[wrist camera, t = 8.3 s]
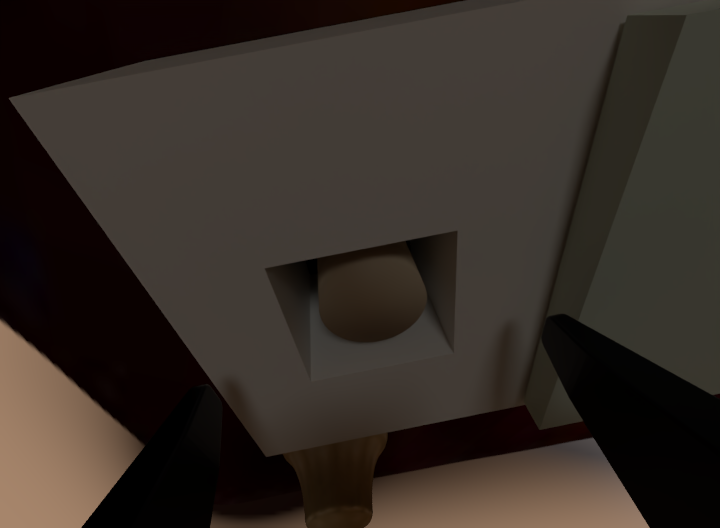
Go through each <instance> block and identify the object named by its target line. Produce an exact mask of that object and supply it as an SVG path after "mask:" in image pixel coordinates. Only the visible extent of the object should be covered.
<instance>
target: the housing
mask: <svg viewBox="0 0 720 528" xmlns="http://www.w3.org/2000/svg"><path fill="white" fill-rule="evenodd" d="M700 1H705V0H466V1H460V2H455V3H450V4H444V5H439V6H434V7H429V8H423V9H418V10H413V11H407V12H402V13H397V14H392V15H386V16H381V17H376V18H370V19H365V20H360V21H354V22H349V23H344V24H339V25H333V26H328V27H323V28H317V29H312V30H307V31H302V32H296V33H291V34H286V35H280V36H275V37H270V38H264V39H259V40H254V41H249V42H243V43H238V44H233V45H227V46H222V47H217V48H212V49H206V50H201V51H196V52H190V53H185V54H180V55H174V56H169V57H164V58H159V59H153V60H148V61H143V62H140V63H136V64H132V65H129V66H125V67H121V68H118V69H114V70H110V71H107V72H103V73H99V74H96V75H92V76H88V77H85V78H81V79H77V80H74V81H70V82H66V83H63V84H59V85H55V86H52V87H48V88H44V89H41V90H37V91H33V92H30V93H26V94H22V95H19V96H15V97H11V98H9V99H10V101H11V102H12V104H13V105H14V106H15V108H16V109H17V111H18V112H19V113H20V115H21V116H22V118H23V119H24V120H25V122H26V123H27V125H28V126H29V127H30V129H31V130H32V132H33V133H34V134H35V136H36V137H37V138H38V140H39V141H40V143H41V144H42V145H43V147H44V148H45V150H46V151H47V152H48V154H49V155H50V157H51V158H52V159H53V161H54V162H55V164H56V165H57V166H58V168H59V169H60V170H61V172H62V173H63V175H64V176H65V177H66V179H67V180H68V182H69V183H70V184H71V186H72V187H73V189H74V190H75V191H76V193H77V194H78V196H79V197H80V198H81V200H82V201H83V203H84V204H85V205H86V207H87V208H88V209H89V211H90V212H91V214H92V215H93V216H94V218H95V219H96V221H97V222H98V223H99V225H100V226H101V228H102V229H103V230H104V232H105V233H106V235H107V236H108V237H109V239H110V240H111V241H112V243H113V244H114V246H115V247H116V248H117V250H118V251H119V253H120V254H121V255H122V257H123V258H124V260H125V261H126V262H127V264H128V265H129V267H130V268H131V269H132V271H133V272H134V273H135V275H136V276H137V278H138V279H139V280H140V282H141V283H142V285H143V286H144V287H145V289H146V290H147V292H148V293H149V294H150V296H151V297H152V299H153V300H154V301H155V303H156V304H157V306H158V307H159V308H160V310H161V311H162V312H163V314H164V315H165V317H166V318H167V319H168V321H169V322H170V324H171V325H172V326H173V328H174V329H175V331H176V332H177V333H178V335H179V336H180V338H181V339H182V340H183V342H184V343H185V344H186V346H187V347H188V349H189V350H190V351H191V353H192V354H193V356H194V357H195V358H196V360H197V361H198V363H199V364H200V365H201V367H202V368H203V370H204V371H205V372H206V374H207V375H208V377H209V378H210V379H211V381H212V382H213V383H214V385H215V386H216V388H217V389H218V390H219V392H220V393H221V395H222V396H223V397H224V399H225V400H226V402H227V403H228V404H229V406H230V407H231V409H232V410H233V411H234V413H235V414H236V415H237V417H238V418H239V420H240V421H241V422H242V424H243V425H244V427H245V428H246V429H247V431H248V432H249V434H250V435H251V436H252V438H253V439H254V441H255V442H256V443H257V445H258V446H259V448H260V449H261V450H262V452H263V453H264V454H265V456H266V457H268V456H273V455H278V454H283V453H288V452H293V451H298V450H303V449H308V448H313V447H318V446H323V445H328V444H333V443H338V442H343V441H348V440H353V439H358V438H363V437H367V436H372V435H377V434H382V433H387V432H392V431H397V430H402V429H407V428H412V427H417V426H422V425H427V424H432V423H437V422H442V421H447V420H452V419H457V418H462V417H467V416H472V415H476V414H481V413H486V412H491V411H496V410H501V409H506V408H511V407H516V406H521V405H525V403H524V398H525V394H526V390H527V386H528V383H529V379H530V375H531V372H532V368H533V364H534V360H535V357H536V353H537V349H538V346H539V342H540V338H541V334H542V331H543V327H544V323H545V319H546V316H547V312H548V308H549V305H550V301H551V297H552V293H553V290H554V286H555V282H556V278H557V275H558V271H559V267H560V264H561V260H562V256H563V252H564V249H565V245H566V241H567V238H568V234H569V230H570V226H571V223H572V219H573V215H574V211H575V208H576V204H577V200H578V197H579V193H580V189H581V185H582V182H583V178H584V174H585V171H586V167H587V163H588V159H589V156H590V152H591V148H592V144H593V141H594V137H595V133H596V130H597V126H598V122H599V118H600V115H601V111H602V107H603V103H604V100H605V96H606V92H607V89H608V85H609V81H610V77H611V74H612V70H613V66H614V63H615V59H616V55H617V51H618V48H619V44H620V40H621V36H622V33H623V29H624V25H625V22H626V18H627V15H632V14H637V13H642V12H647V11H653V10H658V9H663V8H668V7H674V6H679V5H684V4H689V3H695V2H700ZM407 240H410V248H411V255H412V257H413V259H414V262H415V264H416V266H417V269H418V271H419V273H420V276H421V278H422V280H423V283H424V285H425V288H426V292H427V301H426V306H425V308H424V311H423V313H422V314H421V316H420V317H419V319H418V320H417V321H416V322H415V323H414V324H413V325H412V326H411V327H410V328H408V329H407V330H406V331H404V332H402V333H401V334H399V335H397V336H394V337H392V338H389V339H386V340H382V341H377V342H354V341H349V340H346V339H343V338H341V337H339V336H337V335H335V334H333V333H332V332H331V331H330V330H328V328H327V327H326V326H325V325H324V323H323V322H322V320H321V317H320V313H319V296H318V273H315V274H310V273H309V269H308V266H307V263H306V260H310V259H315V258H320V257H325V256H330V255H335V254H340V253H345V252H350V251H355V250H361V249H366V248H371V247H376V246H381V245H386V244H391V243H396V242H401V241H407Z"/></svg>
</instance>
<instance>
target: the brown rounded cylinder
mask: <svg viewBox="0 0 720 528" xmlns="http://www.w3.org/2000/svg"><path fill="white" fill-rule="evenodd" d="M317 270H318V296H319V313H320V317H321V320H322V322H323V323H324V325H325V326H326V327H327V328H328V330H330V331H331V332H332V333H333V334H335V335H337V336H339V337H341V338H343V339H346V340H349V341H354V342H377V341H382V340H386V339H389V338H392V337H394V336H397V335H399V334H401V333H402V332H404V331H406V330H407V329H408V328H410V327H411V326H412V325H413V324H414V323H415V322H416V321H417V320H418V319H419V317H420V316H421V314H422V313H423V311H424V308H425V306H426V301H427V292H426V288H425V285H424V283H423V280H422V278H421V276H420V273H419V271H418V269H417V266H416V264H415V262H414V259H413V257H412V255H411V253H410V250H409V248H408V246H407V243H406V241H401V242H396V243H391V244H386V245H381V246H376V247H371V248H366V249H361V250H355V251H350V252H345V253H340V254H335V255H330V256H325V257H320V258H317Z"/></svg>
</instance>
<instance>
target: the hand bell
mask: <svg viewBox="0 0 720 528" xmlns="http://www.w3.org/2000/svg"><path fill="white" fill-rule="evenodd" d="M387 438H388V433H382V434H377V435H372V436H367V437H363V438H358V439H353V440H348V441H343V442H338V443H333V444H328V445H323V446H318V447H313V448H308V449H303V450H298V451H293V452H288V453H283V456H284V458H285V459H286V460H287V461H288V462H289V463H290V464H291V465H292V466H293V468H294V469H295V471H296V473H297V476H298V478H299V481H300V485H301V489H302V494H303V501H304V511H305V522H306V526H307V527H308V528H364V527H365V526H367V525H368V524H369V522H370V521H371V518H372V513H373V511H372V482H373V474H374V468H375V465H376V462H377V459H378V457H379V455H380V454H381V453H382V451H383V450H384V448H385V446H386V442H387Z"/></svg>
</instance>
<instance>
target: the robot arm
mask: <svg viewBox="0 0 720 528" xmlns="http://www.w3.org/2000/svg"><path fill="white" fill-rule="evenodd" d="M541 340H542V344H543V346H544V348H545V350H546V352H547V354H548V356H549V358H550V361H551V363H552V365H553V367H554V369H555V371H556V373H557V375H558V377H559V379H560V381H561V383H562V385H563V387H564V389H565V391H566V393H567V395H568V397H569V399H570V400H571V402H572V404H573V405H574V407H575V409H576V410H577V412H578V413H579V415H580V417H581V418H582V420H583V422H584V423H585V425H586V426H587V428H588V430H589V431H590V433H591V434H592V436H593V438H594V439H595V441H596V442H597V444H598V446H599V447H600V449H601V450H602V452H603V454H604V455H605V457H606V458H607V460H608V462H609V463H610V465H611V466H612V468H613V470H614V471H615V473H616V474H617V476H618V478H619V479H620V481H621V482H622V484H623V486H624V487H625V489H626V490H627V492H628V493H629V495H630V497H631V498H632V500H633V502H634V503H635V505H636V506H637V508H638V510H639V511H640V513H641V514H642V516H643V518H644V519H645V520H646V522H647V524H648V526H649V527H650V528H720V399H719V398H717V397H715V396H713V395H712V394H710V393H708V392H706V391H704V390H702V389H701V388H699V387H697V386H695V385H693V384H692V383H690V382H688V381H686V380H684V379H683V378H681V377H679V376H677V375H675V374H673V373H672V372H670V371H668V370H666V369H664V368H663V367H661V366H659V365H657V364H655V363H654V362H652V361H650V360H648V359H646V358H644V357H643V356H641V355H639V354H637V353H635V352H634V351H632V350H630V349H628V348H626V347H625V346H623V345H621V344H619V343H617V342H615V341H614V340H612V339H610V338H608V337H606V336H605V335H603V334H601V333H599V332H597V331H595V330H594V329H592V328H590V327H588V326H586V325H585V324H583V323H581V322H579V321H577V320H576V319H574V318H572V317H570V316H568V315H566V314H556V315H551V316H548V317H547V318H546V320H545V324H544V328H543V331H542V335H541ZM221 427H222V403H221V400H220V399H219V397H218V396H217V395H216V393H215V392H214V391H213V389H212V388H211V387H210V386H209V385H207V384H205V385H200V386H195V387H192V388H191V389H190V390H189V391H188V392H187V393H186V395H185V396H184V397H183V398H182V400H181V401H180V402H179V403H178V405H177V406H176V407H175V409H174V410H173V411H172V412H171V414H170V415H169V416H168V418H167V419H166V420H165V421H164V423H163V424H162V425H161V426H160V428H159V429H158V430H157V432H156V433H155V434H154V435H153V437H152V438H151V439H150V441H149V442H148V443H147V444H146V446H145V447H144V448H143V450H142V451H141V452H140V453H139V455H138V456H137V457H136V458H135V460H134V461H133V462H132V464H131V465H130V466H129V467H128V469H127V470H126V471H125V473H124V474H123V475H122V476H121V478H120V479H119V480H118V481H117V483H116V484H115V485H114V487H113V488H112V489H111V490H110V492H109V493H108V494H107V496H106V497H105V498H104V499H103V501H102V502H101V503H100V505H99V506H98V507H97V508H96V510H95V511H94V512H93V513H92V515H91V516H90V517H89V519H88V520H87V521H86V523H85V524H84V525H83V526H82V528H210V524H211V517H212V511H213V505H214V499H215V492H216V486H217V480H218V472H219V462H220V446H221Z"/></svg>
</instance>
